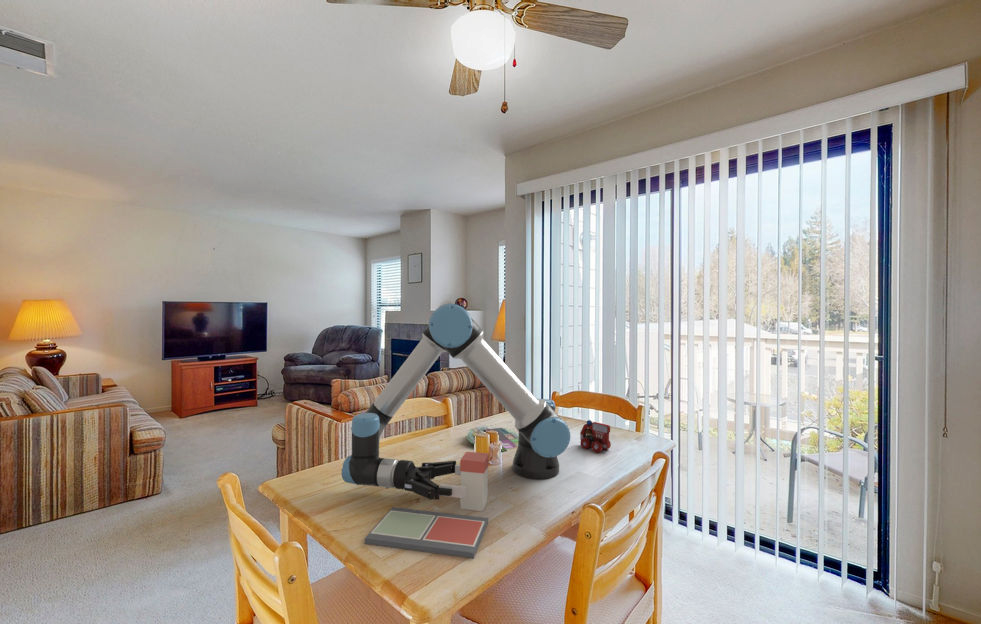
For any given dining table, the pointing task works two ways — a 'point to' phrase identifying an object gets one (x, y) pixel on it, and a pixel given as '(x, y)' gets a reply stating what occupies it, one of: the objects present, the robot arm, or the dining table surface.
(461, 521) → the grey flat board
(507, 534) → the dining table surface
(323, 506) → the dining table surface
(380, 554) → the dining table surface
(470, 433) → the city model
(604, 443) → the toy fire truck
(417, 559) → the dining table surface
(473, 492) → the block
